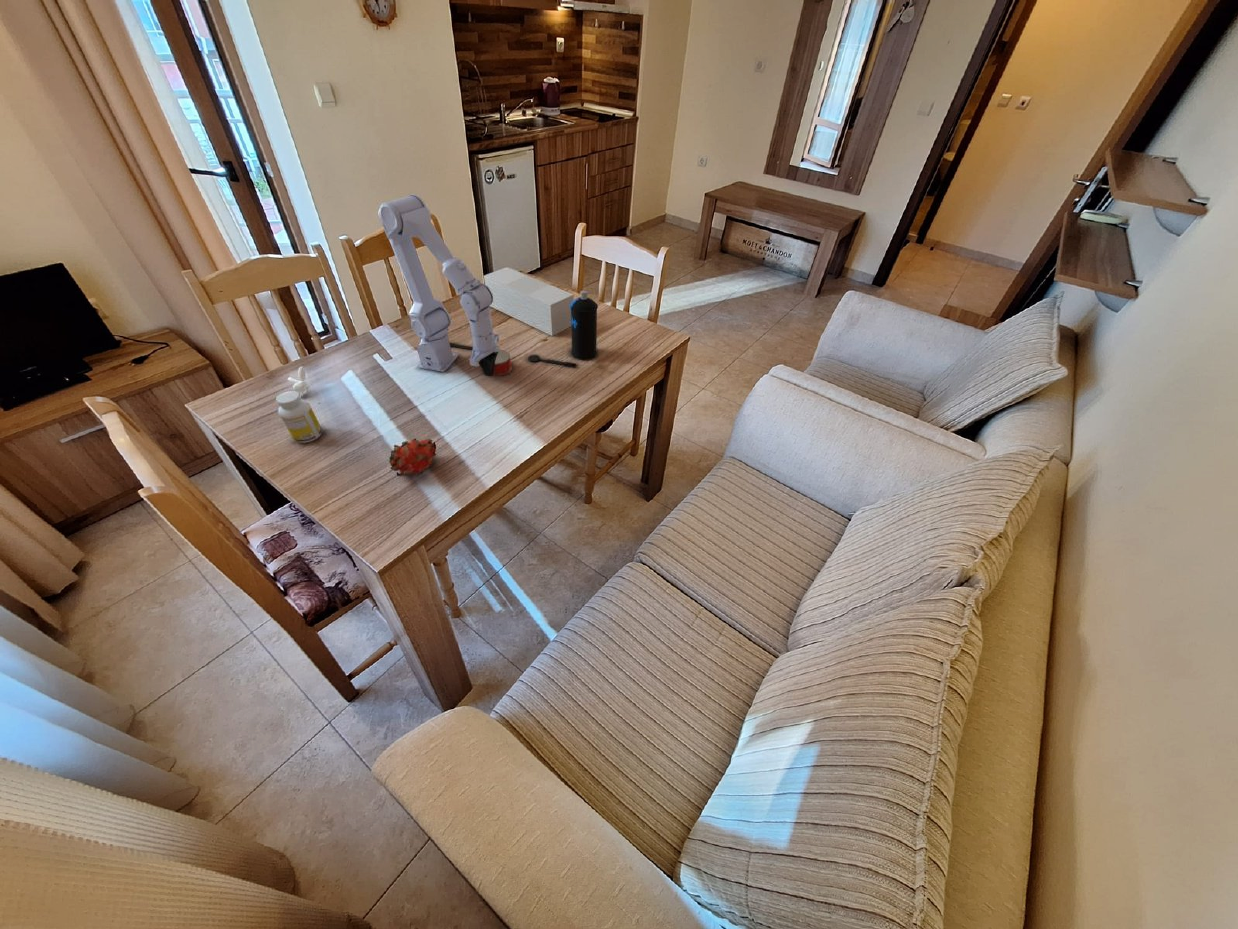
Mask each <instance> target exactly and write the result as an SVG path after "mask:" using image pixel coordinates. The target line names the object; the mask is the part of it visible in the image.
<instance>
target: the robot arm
mask: <svg viewBox="0 0 1238 929" xmlns="http://www.w3.org/2000/svg"><path fill="white" fill-rule="evenodd" d="M377 215H378V217H379V218H378V219H379V221H380V223H381V225H382V228H383V230H384V233H385V235H386V238H387V239H388V241H389V243H390V246H391V248H392V251H393V254H394V257H395V258H396V261H397V264H398V266H399V268H400V271H401V274H402V276H403V279H404V281H405V283H406V286H407V289H408V291H409V294H410V296H411V299H412V302H413V303H412V306H411V308H410V310H409V312H408V316H409V319H410V323H411V324H410V326H411V329H412V332H414V333H415V335H416V336H417V337H418V338H420V342H419V344H418V345H417V348H416V350H417V354H418V358H419V361H420V365H419V368H420V369H425V370H431V371H437V372H441V373H442V372H443V373H444V372H446V370H448V369H449V367H451V365H452V364H453V363H454V362H455V360H456V359H457V358H458V357H459V354H458V353H453V352H452V347H450V343H451V342H450V338H449V334H448V332H449V327H450V326H451V324H452V318H451V316H450V313H449V311H448V310H447V309H446V307H445V305H444V302H442V301H441V300H439V299H436V298H434V294H433V293H432V290H431V288H430V284H429V281H428V278H427V276H426V273H425V271H424V268H423V264H422V262H421V260H420V257H419V254H418V251H417V249H416V247H415V244H414V241H413V238H416V239H417V238H418V239H419V240H420V242H422V243H423V245H424V246H425V247H426V248H427V249H428V251H430V253H431V254H432V255H433V256H434V257H435V259H437V261H438V262H439V264H441V265H442V274H443V275H444V278H446V279H447V281H448V282H449V283H450V284H451V286H452V288H454V290H455V292H457V293H458V295H459V297H460V299H459V303H460V305H461V307H462V309H463V310H464V312H465V317H466V318H467V319H468V324H469V329H470V334H471V340H472V345H473V346H472V348H473V350H472V351H471V356H470V358H469V359H468V360H469V364H470V366H471V367H479V366H480V368H481V370H482V373H483V374H484V376H485V377H491V378H492V377H494V376H493V374H494V366H495V360H496V357H497V354H498V351H499V349H500V346H497V344H498V343H499V341H500V334H499V333H494V327H493V322H492V321H493V320H492V315H491V308H490V307H491V306H489V305H491V304H492V302H493V295H492V292H491V291H490V289H489V287H488V286H487V285H485V283H484V282H481V280H479V279H476V277H475V276H474V274H473V273H472V272H471V270H470V269H469V268H468V266H467V265H466V263H464V261H463V259H461V258H459V257H455V256H454V254H452V252H451V250H450V249H449V248H448V245H447V244H446V243H445V241H444V240H443V238H442V237H441V235H440V234H439V232H438V230H437V228H436V227H435V225H434V224H433V222H432V220H431V219H432V217H431V216H432V215H431V211H430V209H429V208H428V207H427V206H426V203H425V202H424V200H423V199H422V198H421V197H420V196H418V195H417V194H413V193H411V194H409V195H408V196H405V197H401V198H398V199H395V200H394V199H393V200H391V201H388V202H387V201H386V202H385V201H384V202H382V203H381V204H380V206H379V209H378V212H377Z"/></svg>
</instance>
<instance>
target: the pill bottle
mask: <svg viewBox="0 0 1238 929" xmlns="http://www.w3.org/2000/svg"><path fill="white" fill-rule="evenodd" d="M275 401H276V403H277V404H278V406H279V407H278V409H277V412H278V415H279V417H280V418H281V421H282V422H283V424H284V426H285V427H286V429H287V431H288V432H289V434H290V436H291V438H292V439H293V441H295V442H297V443H299V444H300V443H303V444H304V443H305V444H306V443H311V442H313V441H315V440H317V439H318V438H320V437H321V435H322V433H323V428H322V426H321V424H320V422H319V420H318V418H317V417H316V414H315V413H314V410H313V409H312V407H311V404H310V403H309V402H308V401H307V400H305V399H302V396H300V394H299V393H298V392H296V391H293V390H289V391H284V392H282V393H280V394H278V395H277V396H276V398H275Z"/></svg>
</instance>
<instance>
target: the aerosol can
mask: <svg viewBox="0 0 1238 929" xmlns="http://www.w3.org/2000/svg"><path fill="white" fill-rule="evenodd" d="M570 308H571V327H570V333H571V335H570V336H571V351H570V354H571V356H572V357H573V358H574V359H577V360H580V361H581V360H582V361H588V360H592V359H595V358H596V357H597V355H598V351H597V335H598V334H597V333H598V331H597V330H598V329H597V328H598V308H599V305H598V303H597V302H596V301H594V299H593V298H591V297H588V291H587V290H580V297H576V298H575V299H574V300H573V302H572V303H571V304H570Z"/></svg>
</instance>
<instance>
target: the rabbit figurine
mask: <svg viewBox="0 0 1238 929" xmlns="http://www.w3.org/2000/svg"><path fill="white" fill-rule="evenodd" d="M297 376H298V379H299V380H298V379H295V378H294V377H292V376H291V377H290V376H289V377H287V381H288V382H289V383H291V384H293V386H292V391H296V392H298V393H299V395H300V396H301V397H304V395H305V394H307V393H308V388H309V386H308V384H307V383H306V381H305V380H306V370H305V367H304V366H302V365H301V366H300V367H298V371H297Z"/></svg>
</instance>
